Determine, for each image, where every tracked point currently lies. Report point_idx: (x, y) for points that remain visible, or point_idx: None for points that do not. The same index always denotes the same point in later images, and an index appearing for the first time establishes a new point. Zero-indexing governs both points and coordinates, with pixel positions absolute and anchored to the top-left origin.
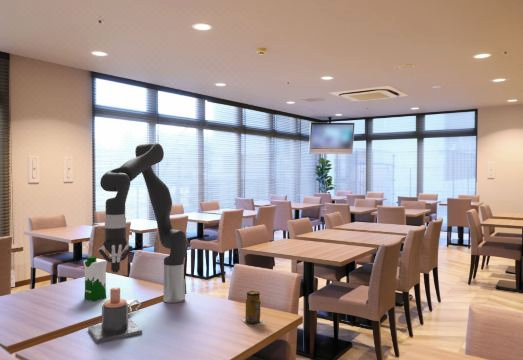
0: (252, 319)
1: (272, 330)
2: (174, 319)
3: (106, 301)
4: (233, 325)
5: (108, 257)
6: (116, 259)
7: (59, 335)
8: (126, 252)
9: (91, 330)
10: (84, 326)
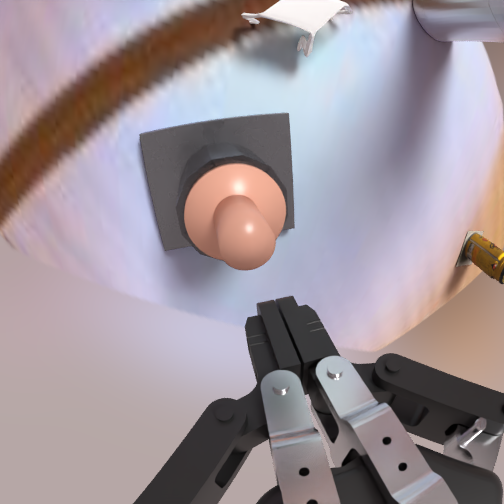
0: (469, 259)
1: (459, 289)
2: (395, 156)
3: (198, 190)
4: (447, 251)
5: (237, 469)
6: (321, 405)
7: (63, 146)
8: (424, 434)
9: (148, 173)
10: (133, 87)
